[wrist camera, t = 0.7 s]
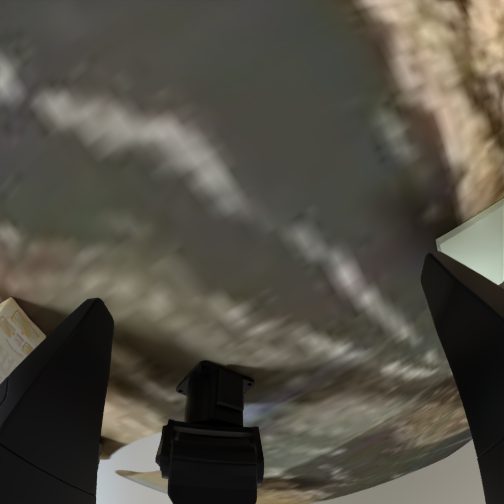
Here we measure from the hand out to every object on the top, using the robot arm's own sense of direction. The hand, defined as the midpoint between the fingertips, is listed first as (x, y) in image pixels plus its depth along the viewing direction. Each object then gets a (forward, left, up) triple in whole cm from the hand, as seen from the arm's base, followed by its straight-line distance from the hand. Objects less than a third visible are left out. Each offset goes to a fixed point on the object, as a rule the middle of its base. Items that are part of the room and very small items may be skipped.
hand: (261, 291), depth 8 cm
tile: (+6, -23, -14) cm, 28 cm away
